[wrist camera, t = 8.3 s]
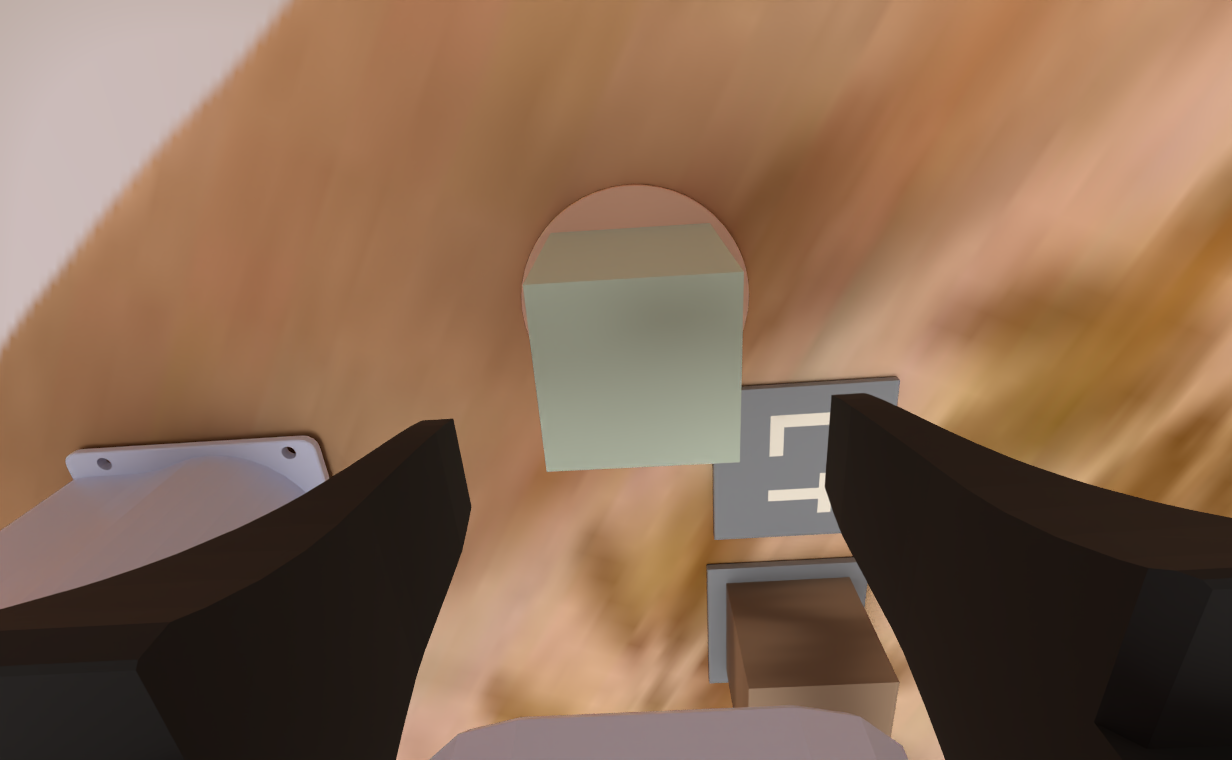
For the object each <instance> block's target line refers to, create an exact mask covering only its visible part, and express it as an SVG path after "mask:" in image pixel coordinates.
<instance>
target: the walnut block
mask: <svg viewBox="0 0 1232 760" xmlns="http://www.w3.org/2000/svg"><path fill="white" fill-rule="evenodd" d="M726 671H727V677H728V682H729V688H730V693H731V699H732V704H733V708H740V707H763V706H785V705H795V706H802V707H809V708H816V709H823V710H831V711H838V712H845V713H850V714H853V715H856V716H860V717H861V718H863V719H864V720H866V721H867V722H869V723H870V724H872V725H873V726H874V727H876V728H877V729H879V730H880V731H882V732H883V733H884V734H886V735H887V736H889V737H890V738H891V732H892V726H893V719H894V713H895V707H896V701H897V694H898V688H899V680H898V678H897V676H896V674H895V672H894V670H893V668H892V665H891V663H890V661H889V659H888V657H887V655H886V653H885V651H884V649H883V647H882V644H881V642H880V640H879V638H878V636H877V634H876V632H875V630H874V628H873V625H872V623H871V621H870V619H869V617H868V615H867V613H866V611H865V609H864V606H863V604H862V602H861V600H860V598H859V596H858V594H857V592H856V590H855V588H854V585H853V583H852V581H851V579H850V577H842V578H822V579H802V580H783V581H763V582H743V583H726Z"/></svg>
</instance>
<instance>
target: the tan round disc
mask: <svg viewBox="0 0 1232 760" xmlns="http://www.w3.org/2000/svg"><path fill="white" fill-rule="evenodd" d="M702 223H710V224H711V225H712V227H713V228H714V230H715V231H716V233H717V234H718V235H719V237H720V238H721V240H722V241H723V243H724V244H725V245H726V247H727V248H728V250H729V251H730V253H731V254H732V255H733V257H734V258H735V260H736V261H737V263H738V264H739V265H740V267H741V268H742V270H743V271H744V292H743V328H744V326H745V322H746V317H747V313H748V304H749V283H748V277H747V272H746V267H745V264H744V261H743V258H742V255H741V253H740V251H739V249H738V247H737V245H736V243H735V241H734V239H733V238H732V236H731V235H730V234H729V232H728V231H727V229H726V228H725V227H724V225H723V224H722V223H721V222H720V221H719V220H718V219H717V218H716V217H715V216H714V215H713V214H712V213H711V212H710V211H709V210H707V209H706V208H705V207H704V206H702V205H701V204H700V203H698V202H696V201H695V200H693V199H691V198H690V197H688V196H685V195H683V194H681V193H678V192H676V191H674V190H670V189H666V188H663V187H659V186H652V185H644V184H631V185H621V186H614V187H609V188H606V189H602V190H599V191H596V192H593V193H591V194H589V195H587V196H584V197H582V198H581V199H579V200H577V201H576V202H574V203H572V204H571V205H569V206H568V207H567V208H565V209H564V210H563V211H562V212H561V213H559V214H558V215H557V216H556V217H555V218H554V219H553V220H552V221H551V223H550V224H549V225H548V226H547V227H546V228H545V230H544V231H543V233H542V234H541V236H540V237H539V238H538V240H537V242H536V244H535V246H534V248H533V250H532V252H531V254H530V256H529V259H528V262H527V264H526V267H525V271H524V276H523V281H522V293H521V301H522V313H523V317H524V322H525V326H526V329H527V332H528V335H529V330H528V322H527V315H526V307H525V299H524V291H523V283H524V282H525V280H526V278H527V276H528V274H529V272H530V270H531V269H532V267H533V265H534V263H535V261H536V259H537V257H538V255H539V254H540V252H541V250H542V248H543V246H544V244H545V242H546V241H547V239H548V237H549V235H550V233H558V232H574V231H590V230H606V229H622V228H638V227H654V226H670V225H686V224H702Z"/></svg>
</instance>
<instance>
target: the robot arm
mask: <svg viewBox="0 0 1232 760" xmlns="http://www.w3.org/2000/svg"><path fill="white" fill-rule="evenodd" d="M287 447H291V448H292V449H294V450H295V452H296V454H295V453H291V452H290V451H289V450H288V449H287ZM106 459H107V460H109V461H110V463H109V462H108V461H107V460H106ZM65 462H66V466H67V468H68V470H69V472H70V474H71V476H72V478H73V480H72V481H71V482H69V483H68V484H67V485H65V486H64V487H62V488H61V489H59V490H58V491H56V492H55V493H54V494H52V495H51V496H49V497H48V498H46V499H45V500H43V501H42V502H41V503H39V504H38V505H36V506H35V507H33V508H32V509H31V510H29V511H28V512H26V513H25V514H23V515H22V516H20V517H19V518H18V519H16V520H15V521H13V522H12V523H10V524H9V525H7V526H6V527H5V528H3V529H2V530H0V760H396V757H397V753H398V748H399V744H400V740H401V735H402V731H403V727H404V723H405V719H406V715H407V711H408V707H409V704H410V700H411V696H412V692H413V688H414V684H415V680H416V676H417V673H418V670H419V667H420V664H421V661H422V658H423V655H424V652H425V649H426V646H427V644H428V641H429V638H430V636H431V633H432V631H433V628H434V625H435V623H436V620H437V617H438V615H439V612H440V609H441V607H442V604H443V601H444V599H445V596H446V594H447V591H448V588H449V586H450V583H451V580H452V577H453V575H454V572H455V569H456V567H457V564H458V561H459V558H460V555H461V553H462V549H463V545H464V540H465V536H466V532H467V527H468V522H469V516H470V511H471V503H470V498H469V493H468V488H467V483H466V478H465V474H464V469H463V464H462V459H461V454H460V449H459V444H458V440H457V435H456V430H455V425H454V420H453V419H441V420H425V421H420V422H418V423H416V424H414V425H412V426H411V427H409V428H407V429H406V430H404V431H402V432H401V433H399V434H398V435H396V436H395V437H393V438H392V439H390V440H388V441H387V442H385V443H384V444H382V445H381V446H379V447H378V448H376V449H375V450H373V451H372V452H370V453H369V454H367V455H366V456H364V457H363V458H361V459H360V460H358V461H357V462H355V463H354V464H352V465H351V466H349V467H348V468H346V469H344V470H343V471H341V472H339V473H338V474H336V475H334V476H333V477H331V478H329V475H328V471H327V468H326V465H325V462H324V459H323V455H322V452H321V449H320V446H319V444H318V442H317V441H316V440H314V439H313V438H311V437H309V436H287V437H270V438H254V439H238V440H222V441H206V442H189V443H173V444H157V445H141V446H125V447H108V448H92V449H79V450H75V451H74V452H72V453H71V454H69V455H68V456H67V457H66V460H65ZM825 490H826V493H827V496H828V498H829V501H830V504H831V507H832V510H833V513H834V516H835V518H836V521H837V524H838V527H839V529H840V531H841V533H842V535H843V537H844V539H845V541H846V543H847V545H848V547H849V549H850V551H851V553H852V555H853V557H854V558H855V560H856V562H857V564H858V566H859V568H860V570H861V572H862V573H863V575H864V577H865V579H866V581H867V583H868V585H869V587H870V588H871V590H872V592H873V594H874V596H875V598H876V600H877V601H878V603H879V605H880V607H881V609H882V611H883V613H884V614H885V616H886V618H887V620H888V622H889V624H890V626H891V627H892V629H893V632H894V634H895V636H896V638H897V640H898V642H899V644H900V646H901V648H902V650H903V652H904V655H905V657H906V660H907V662H908V665H909V667H910V670H911V672H912V675H913V677H914V680H915V682H916V685H917V687H918V690H919V692H920V695H921V697H922V700H923V702H924V704H925V707H926V710H927V712H928V715H929V718H930V720H931V723H932V726H933V728H934V731H935V734H936V736H937V739H938V742H939V744H940V747H941V750H942V752H943V755H944V758H945V760H1232V518H1229V517H1224V516H1219V515H1214V514H1209V513H1204V512H1198V511H1193V510H1189V509H1184V508H1180V507H1175V506H1171V505H1166V504H1162V503H1158V502H1153V501H1149V500H1145V499H1142V498H1138V497H1134V496H1130V495H1126V494H1123V493H1119V492H1115V491H1111V490H1107V489H1104V488H1100V487H1097V486H1093V485H1090V484H1086V483H1083V482H1080V481H1076V480H1073V479H1070V478H1067V477H1064V476H1061V475H1058V474H1055V473H1052V472H1049V471H1046V470H1043V469H1040V468H1037V467H1034V466H1032V465H1029V464H1026V463H1023V462H1021V461H1018V460H1015V459H1013V458H1010V457H1008V456H1005V455H1003V454H1000V453H998V452H996V451H993V450H991V449H988V448H986V447H984V446H981V445H979V444H976V443H974V442H972V441H970V440H967V439H965V438H963V437H961V436H958V435H956V434H954V433H952V432H950V431H948V430H945V429H943V428H941V427H939V426H937V425H935V424H933V423H931V422H929V421H927V420H924V419H922V418H920V417H918V416H916V415H914V414H912V413H910V412H908V411H906V410H904V409H902V408H900V407H898V406H895V405H893V404H891V403H889V402H887V401H885V400H882V399H880V398H878V397H875V396H873V395H870V394H867V393H854V394H838V395H831V408H830V421H829V434H828V448H827V461H826V474H825ZM430 760H908V758H907V755H906V753H905V751H904V749H903V746H902V745H900V744H899V743H897V742H896V741H895V740H893V739H892V738H890V737H889V736H887V735H886V734H884V733H883V732H882V731H880V730H879V729H877V728H876V727H874V726H873V725H872V724H870V723H869V722H867V721H866V720H864V719H863V718H861V717H860V716H856V715H853V714H850V713H845V712H838V711H831V710H823V709H816V708H809V707H802V706H795V705H785V706H763V707H740V708H717V709H695V710H672V711H650V712H627V713H605V714H582V715H559V716H537V717H520V718H516V719H512V720H507V721H503V722H499V723H495V724H491V725H486V726H482V727H478V728H474V729H470V730H467V731H465V732H462V733H460V734H458V735H457V736H456V737H454V738H453V739H452V740H451V741H450V742H449V743H448V744H447V745H445V746H444V747H443V748H442V749H441V750H440V751H439V752H437V753H436V754H435V755H434V756H433V757H432V758H431V759H430Z"/></svg>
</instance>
